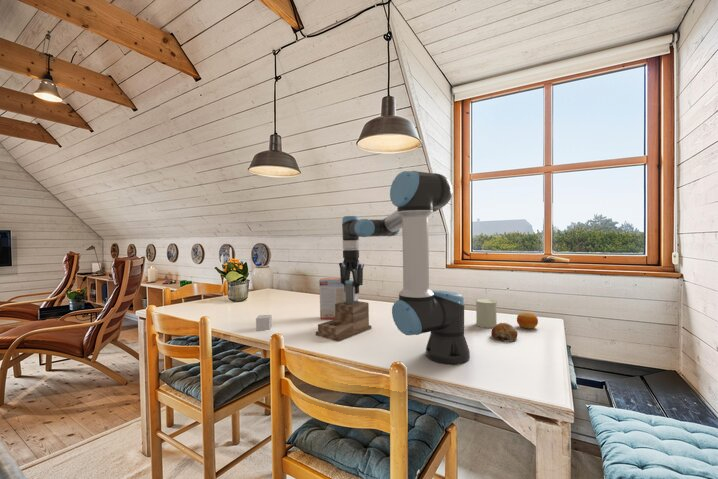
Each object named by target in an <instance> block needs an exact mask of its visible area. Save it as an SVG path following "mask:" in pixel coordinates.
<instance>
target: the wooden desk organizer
mask: <svg viewBox="0 0 718 479" xmlns="http://www.w3.org/2000/svg"><path fill="white" fill-rule="evenodd" d="M369 309H370V308H369V302H365V301H360V300H358V304H355V305H348V304H346V301H345V302H341V303H337V304H335V319H330V320H328V321H325V322H322V323H318V324H317V331H315V336H317V337H321V338H324V339H327V340H332V341H335V342H342V341H344V340H347V339H349V338H352V337H355V336H357V335H359V334H362V333H365V332H367V331H369V330H372V329H373V328H372V325H370V316H369V315H370V313H369V311H370V310H369Z"/></svg>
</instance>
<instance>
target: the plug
mask: <svg viewBox="0 0 718 479" xmlns="http://www.w3.org/2000/svg"><path fill="white" fill-rule="evenodd" d="M353 286H354V281H353V279H350V280H348V281H345V287H346V304H348V305H355V304H358V301H359V299H358V300H357V301H353Z"/></svg>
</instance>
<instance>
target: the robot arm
mask: <svg viewBox="0 0 718 479" xmlns="http://www.w3.org/2000/svg"><path fill="white" fill-rule="evenodd" d="M389 197H390V201H391V203H392V205H393V206H395V207H397V210H395V211H394V212H392V213H391V214H389V215H388V216H387V217H385V218H384V219H368V218H361V219H359V217H358V216H357V215H347V216H343V217H342V223H341V225H342V226H341V228H342V230H341V231H342V233H341V234H342V249H343V250H342V259H343V261H342V262H339V263H338V266H339V272H340V277H339V278H341V284H344V291H345V299H346V287H345V281H348V280H351V274H352V280H353V281H354V286H353V301H357V300H358V301H359V294H360V286H363V282H364V279H363V278H364V277H363V276H364V273H363V272H364V267H365V264H364V263H361V262H360V261H359V258H360V250H359V249H360V239H359V238H367V237H368V238H370V237H395V236H397V235H398V234H399V232H400V230H401V229H402V231H401V232H402V277H403V278H402V287H403V288H402V289H401V290H400V291H399V293H398V300H396V301H395V302H393V305H392V308H391V315H392V319H393V322H394V325H395V326H396V328H397V329H398V331H399V332H401V333H402V334H404V335H405V336H414V335H415V336H419V335H421V334H426V333H429V332H430V334H429V338H428V341H427V344H426V347H425V356H426V358H428V359H430V360H431V361H433V362H437V363H440V364H447V365H458V364H464V363H466V362H468V361H469V360H470V358H471V355H470V354H471V353H470V352H471V351H470V349H469V345H468V342H467V340H466V337H465V307H466V306H465V302H464V300H465V299H464V296H463V295H462V294H461V293H457V292H452V291H447V290H446V291H445V290H435V289H434V290H431V289H430V266H429V265H430V258H429V256H430V253H429V216H430V215H431V214H432V213H434V212H437V211H439V210H441V209H442V208H444V207H445V206H446V205H447V204H448V203H449V202H450V200H451V199H452V197H453V186H452V183H451V181H450V180H449V179H448V178H447V177H446V176H445V175H443V174H440V173H436V172H425V171H418V170H404V171H400V172H399V173H398V174H397V175H396V176H395V177H394V179H393V181H392V182H391V185H390V188H389Z"/></svg>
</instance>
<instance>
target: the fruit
mask: <svg viewBox="0 0 718 479" xmlns="http://www.w3.org/2000/svg"><path fill="white" fill-rule="evenodd" d="M516 323H517V324H518V325H519V327H521V328H523V329H535V328H536V327H537V326H538V324H539V320H538V317H537V316H536V314H534V313H531V312H520V313H519V314H517V316H516Z"/></svg>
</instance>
